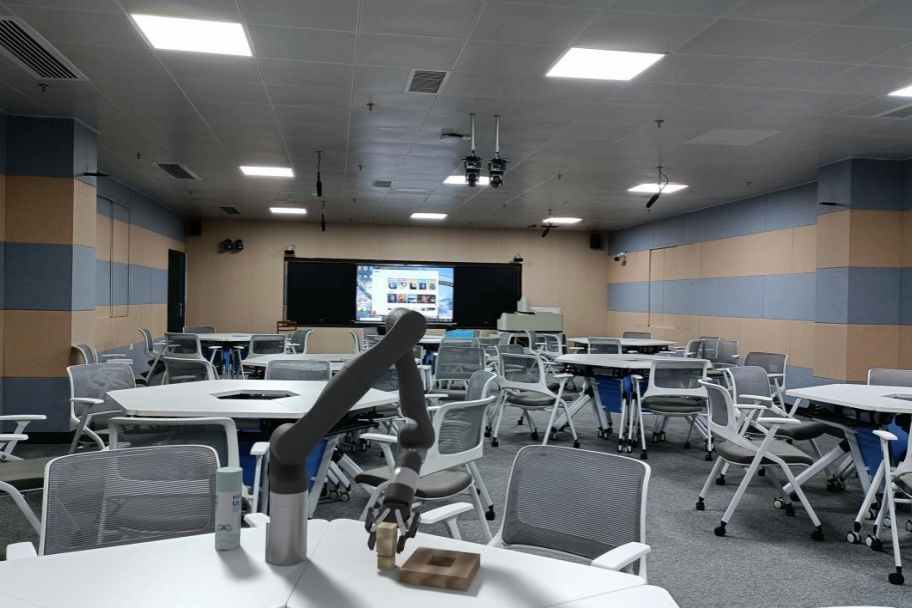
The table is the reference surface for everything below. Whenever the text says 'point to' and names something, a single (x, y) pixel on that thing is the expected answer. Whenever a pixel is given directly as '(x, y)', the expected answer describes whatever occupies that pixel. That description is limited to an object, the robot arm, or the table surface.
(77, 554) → the table surface
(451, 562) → the walnut board
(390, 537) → the oak peg
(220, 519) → the spray paint can
